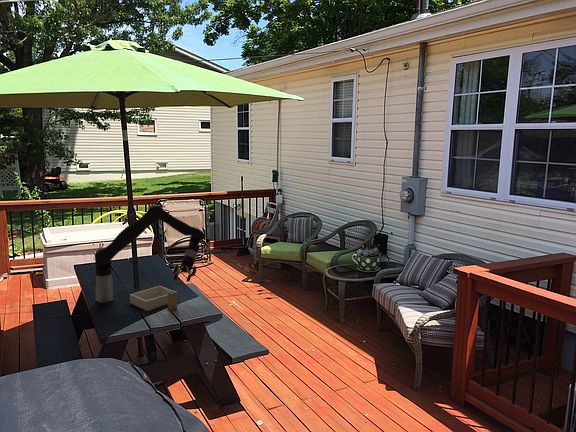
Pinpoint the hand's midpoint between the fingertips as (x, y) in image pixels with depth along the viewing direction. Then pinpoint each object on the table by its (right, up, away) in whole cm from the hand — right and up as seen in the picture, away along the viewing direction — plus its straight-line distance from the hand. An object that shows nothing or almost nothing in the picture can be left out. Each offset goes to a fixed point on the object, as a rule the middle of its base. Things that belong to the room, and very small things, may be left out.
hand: (181, 280), depth 284 cm
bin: (-18, -14, +2) cm, 23 cm away
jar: (-3, -16, -8) cm, 18 cm away
